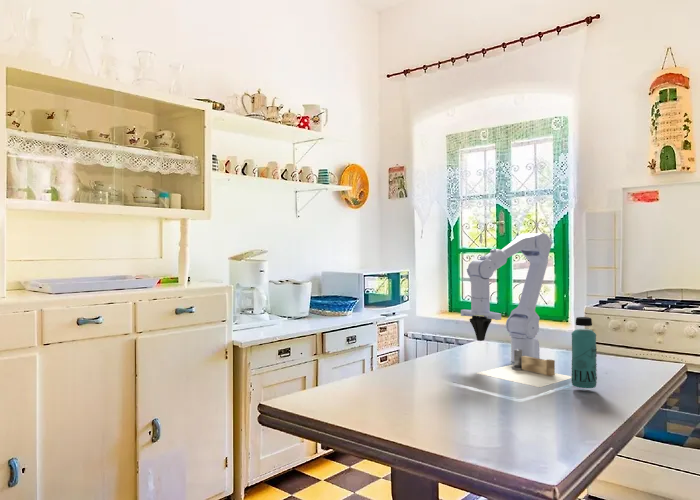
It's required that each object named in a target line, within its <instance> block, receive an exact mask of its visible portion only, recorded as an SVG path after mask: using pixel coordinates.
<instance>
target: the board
mask: <svg viewBox="0 0 700 500" xmlns="http://www.w3.org/2000/svg"><path fill="white" fill-rule="evenodd" d="M512 366H514V364H509V365H504V366H500V367H496V368H491V369H488V370H482V371H479V372H476V374H478V375H480V376H481V375H482V376H487V377H492V378H495V379H500V380H504V381H509V382H514V383H518V384H521V385H522V384H523V385H527V386H532V387H536V388H543V387H547V386H549V385H553V384H557V383H560V382H564V381H566V380H571V379H572V375H571V376H570V375H567V374H562V373H561V374H560V373H556V372H555V375H553V376H549V375H545V374H541V373H536V372H532V371H528V370H513V369H512Z"/></svg>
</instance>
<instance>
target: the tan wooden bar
mask: <svg viewBox="0 0 700 500" xmlns="http://www.w3.org/2000/svg"><path fill="white" fill-rule="evenodd" d="M548 359H549V358H548ZM555 363H556V361H555V359H549V360H547V359H543V358H540V359H539V358H534V357H529V356H522V369H523V370H528V371H532V372H536V373H541V374H545V375H549V376H553V375H555V373H556V372H555V369H556V368H555V366H556V365H555Z"/></svg>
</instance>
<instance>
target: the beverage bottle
mask: <svg viewBox="0 0 700 500" xmlns="http://www.w3.org/2000/svg"><path fill="white" fill-rule="evenodd" d="M592 321H593V320H592V317H587V316H578V317H576V318H575V325H576V326H579V327H589V326H590V327H591V326H593V322H592ZM597 353H598V352H597V333H596V332H595V331H594V330H592V329H588V328H576V329H574V330H573V331H572V332H571V372H570V374H571V376H572V378H571V379H570V380H571V384H572V386H573V387H576V388H580V389H594V388H596V387H597V384H598V382H597V380H598V376H597V367H598V366H597V355H598V354H597Z"/></svg>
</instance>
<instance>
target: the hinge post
mask: <svg viewBox="0 0 700 500" xmlns="http://www.w3.org/2000/svg"><path fill="white" fill-rule="evenodd" d="M513 365H514V366H512V369H513V370H523V369H522V350H521V349H514V362H513Z"/></svg>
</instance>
